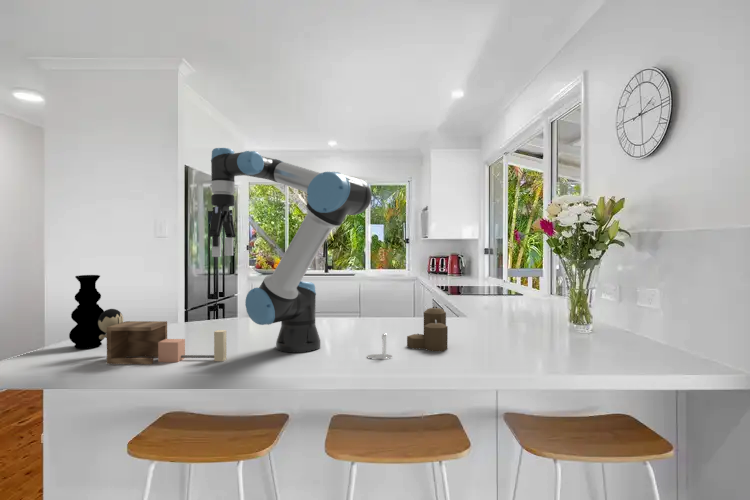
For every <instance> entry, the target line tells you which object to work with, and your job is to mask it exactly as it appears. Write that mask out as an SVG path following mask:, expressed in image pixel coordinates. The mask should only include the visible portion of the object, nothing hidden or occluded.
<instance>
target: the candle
mask: <svg viewBox="0 0 750 500" xmlns="http://www.w3.org/2000/svg"><path fill="white" fill-rule="evenodd" d="M448 329H449V328H448V326H447V311H445V310H444V309H443V308H440V307H437V306H436V303H435V302H434V303H433V307H429V308H427V309H425V310H424V311H423V334H421V333H420V334H419V333H414V334H411V335H407V336H406V347H407V346H408V348H411V349H412V348H414V349H415V350H417V349H418V350H426V349H427V350H426V351H428V350H429V352H439V351H443V352H445V351H447V350H448V339H449V338H448ZM416 348H417V349H416ZM419 348H420V349H419ZM414 349H413V350H414Z"/></svg>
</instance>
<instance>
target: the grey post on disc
mask: <svg viewBox="0 0 750 500" xmlns="http://www.w3.org/2000/svg"><path fill="white" fill-rule="evenodd" d="M381 340H382V344H381V346H382V351H381V352H382V353H380V354H377V353H376V354H374V353H373V354H368V355H367V356H366V358H367V357H369V358H373V359H372V360H374V359H376V360H390V359H389V358H391V359H393V355H391V354H387V333H382V335H381Z"/></svg>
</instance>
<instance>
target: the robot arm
mask: <svg viewBox="0 0 750 500" xmlns="http://www.w3.org/2000/svg"><path fill="white" fill-rule="evenodd" d="M210 161H211V162H210V163H211V165H210V166H211V167H210V168H211V169H210V170H211V175H210V176H211V184H210V185H209V187H210V188H211V193H212V194H211V206H213V207H212V214H211V220H210V221H211V222H210V226H209V230H208V231H209V233H208V237H209V238H210V237H211V257H212V258H221V257H222V237H221V234H222V233H221V232H222V229H223V230H224V233H225V237H224V256H227V257H229V256H230V257H231V256H234V238H236V237H237V236H236V231H235V230H236V229H235V224H234V216H233V213H234V211H233V210H232V209H230V207H234V206H235V195H234V194H235V193H236V191H235V187H236V186H235V185H236V184H235V182H236V181H235V177H239V176H247V177H253V178H258V179H264V180H268V181H272V182H274V183H277V184H282V185H284V186H287V187H290V188H293V189H296V190H299V191H302V192H304V193H306V194H307V196H306V199H307V203H306V205H305V208H306V210H307V214H306V215H305V218H304V219H303V221H302V222H301V224H300V225H299V228H298V229H297V231H296V232H295V235H294V237H293V238H292V240H291V241H290V243H289V245H288V246H287V249H286V250H285V252H284V253H283V255H282V258H281V259H280V261H279V263H278V265H277V266H276V267H275V270H274V271H273V273H272V274H268V275H266V276H265V277H264V279H263V280H262V282H261V284H260V286H259V287H254V288H252V289H250V290H249V291H248V293H247V294H246V296H245V300H244V301H245V308H246V313H247V316H248V317H249V318H250V320H251V321H253V323H255V324H256V325H259V326H264V325H268V326H270V325H272V324H276V323H280V324H281V325H280V330H279V332H278V335H277V338H276V342H275V344H276V345H275V349H276V350H277V351H279V352H283V351H284V353H306V351H307V352H312V351H311V350H313V351H316V350H315V349H317V350H319V349H320V348H321V338H320V335H319V331H318V328H317V326H316V298H317V297H316V295H317V293H316V286H315V283H313V282H311V281H302V280H303V279H304V276H305V275H306V273H307V271H309V268H310V266H311V265H312V263H313V261H314V259H315V258H316V256H317V255H318V254H319V252H320V250H321V248H322V247H323V245H324V243H325V242H326V240H327V238H328V237H329V235H330V233H331V232H332V230H333V229H334V228H336V227H340V226H341V225H342V224H343V222H344V221H345V218H346V217H347V216H355V215H360V214H362V213H364V211H366V210H367V209H368V208H369V206H370V204H371V201H372V191H371V188H370V186H369V185H368V183H367V182H366V181H364V180H363V179H361V178H359V177H356V176H353V175H348V174H343V173H341V172H339V171H324V172H319V171H316V170H312V169H308V168H305V167H302V166H298V165H295V164H291V163H289V162H285V161H282V160H280V159H276V158H271V157H267V156H264V155H263V156H262V155H261V154H260V153H259V152H258V151H255V150H246V151H241V152H240V151H239V152H235V151H234V149H232V148H229V147H227V148H226V147H215V148H213V149H212V151H211V160H210ZM318 348H319V349H318Z"/></svg>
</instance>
